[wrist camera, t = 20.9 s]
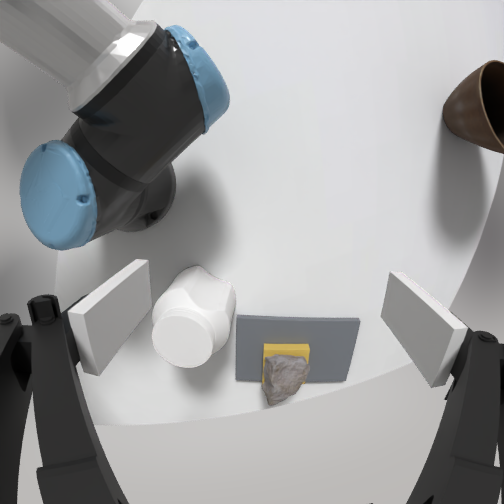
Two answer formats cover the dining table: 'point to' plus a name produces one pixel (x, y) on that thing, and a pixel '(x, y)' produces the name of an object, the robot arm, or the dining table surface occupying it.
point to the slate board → (297, 332)
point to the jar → (193, 318)
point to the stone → (283, 376)
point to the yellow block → (285, 352)
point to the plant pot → (479, 107)
